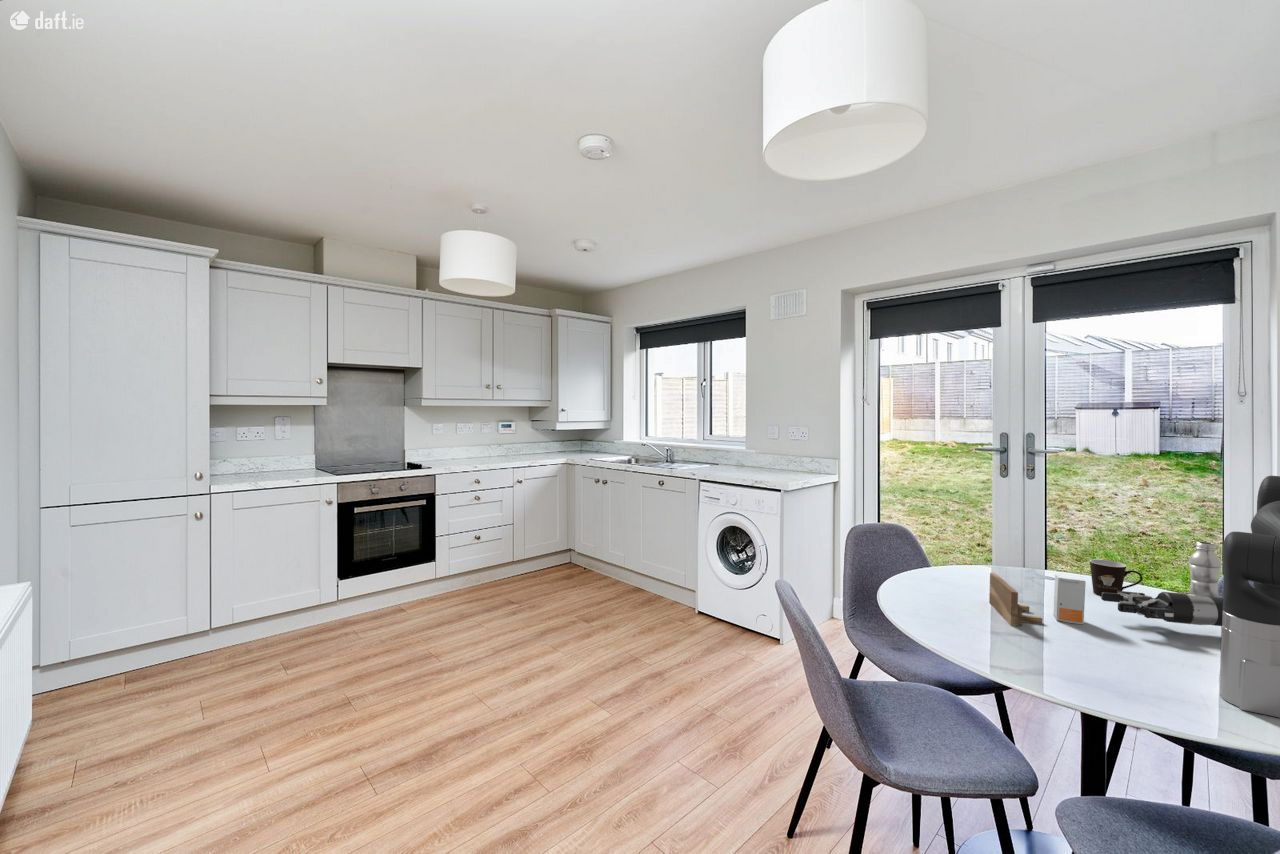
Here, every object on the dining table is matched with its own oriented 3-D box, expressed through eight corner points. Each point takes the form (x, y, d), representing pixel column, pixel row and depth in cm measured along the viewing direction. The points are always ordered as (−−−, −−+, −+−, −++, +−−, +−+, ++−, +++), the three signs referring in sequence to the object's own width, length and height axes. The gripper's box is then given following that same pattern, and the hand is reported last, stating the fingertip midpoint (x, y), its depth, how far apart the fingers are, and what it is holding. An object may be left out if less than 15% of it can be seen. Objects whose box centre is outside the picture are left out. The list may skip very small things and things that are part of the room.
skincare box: (1056, 621, 147) (1057, 577, 147) (1053, 615, 151) (1054, 573, 151) (1084, 625, 144) (1086, 580, 144) (1080, 619, 148) (1081, 576, 148)
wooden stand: (1022, 605, 159) (1023, 575, 158) (1048, 629, 141) (1049, 595, 141) (989, 602, 161) (990, 572, 161) (1010, 625, 144) (1011, 591, 144)
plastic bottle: (1227, 618, 150) (1230, 546, 149) (1198, 616, 151) (1200, 545, 151) (1208, 609, 156) (1210, 540, 155) (1180, 608, 157) (1182, 539, 157)
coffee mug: (1082, 592, 171) (1083, 561, 170) (1097, 588, 174) (1098, 558, 174) (1128, 604, 160) (1129, 571, 160) (1143, 600, 164) (1144, 567, 163)
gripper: (1169, 585, 147) (1096, 579, 151) (1205, 603, 133) (1125, 596, 138) (1168, 613, 147) (1096, 606, 152) (1204, 633, 133) (1124, 625, 138)
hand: (1109, 601), depth 145 cm, fingers open, 8 cm apart
